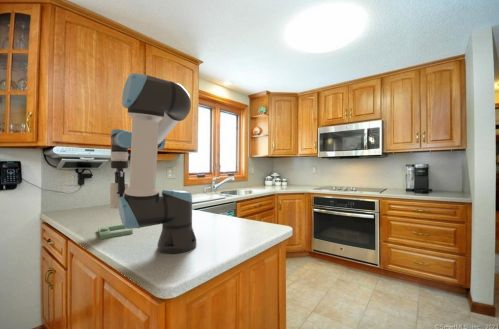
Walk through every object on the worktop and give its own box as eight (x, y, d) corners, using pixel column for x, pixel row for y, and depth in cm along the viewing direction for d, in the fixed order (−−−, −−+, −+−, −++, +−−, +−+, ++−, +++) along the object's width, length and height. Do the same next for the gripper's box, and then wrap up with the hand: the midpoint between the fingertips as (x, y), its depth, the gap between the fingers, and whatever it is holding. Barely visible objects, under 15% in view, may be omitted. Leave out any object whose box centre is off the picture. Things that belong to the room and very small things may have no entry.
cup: (106, 208, 111) (106, 183, 111) (119, 205, 119) (119, 182, 119) (120, 208, 110) (120, 184, 110) (132, 205, 118) (132, 182, 118)
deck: (132, 233, 111) (132, 228, 111) (101, 239, 103) (101, 233, 103) (126, 226, 123) (126, 222, 123) (98, 231, 115) (98, 226, 115)
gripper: (131, 160, 108) (131, 207, 108) (124, 161, 125) (124, 202, 125) (113, 160, 104) (113, 209, 104) (108, 160, 120) (108, 203, 120)
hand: (119, 205), depth 114 cm, fingers closed on cup, 8 cm apart
